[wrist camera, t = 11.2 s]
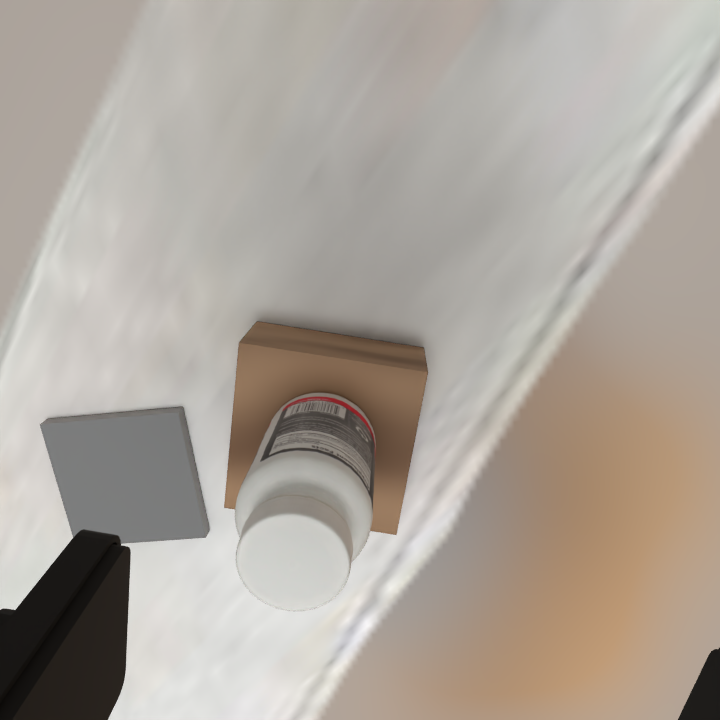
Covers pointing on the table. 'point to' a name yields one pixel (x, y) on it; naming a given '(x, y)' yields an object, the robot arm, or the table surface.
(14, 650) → the robot arm
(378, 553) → the table surface
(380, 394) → the walnut block
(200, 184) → the table surface
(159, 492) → the slate coaster
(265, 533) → the pill bottle
